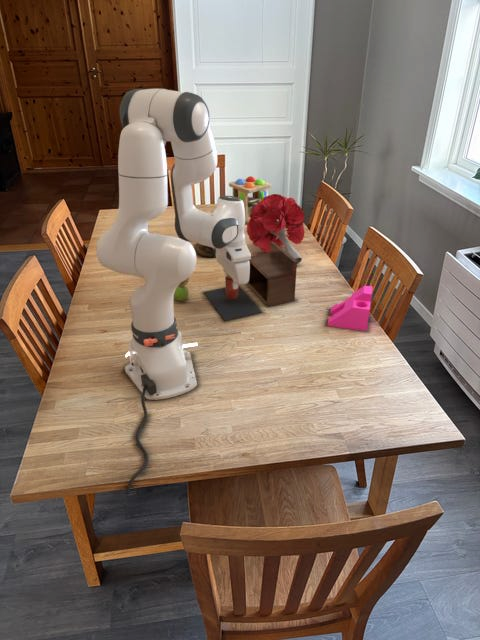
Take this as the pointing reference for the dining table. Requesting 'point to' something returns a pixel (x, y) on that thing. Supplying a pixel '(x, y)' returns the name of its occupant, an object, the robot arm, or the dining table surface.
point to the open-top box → (273, 276)
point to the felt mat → (232, 304)
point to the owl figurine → (205, 248)
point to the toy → (230, 288)
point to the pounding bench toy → (250, 186)
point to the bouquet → (277, 224)
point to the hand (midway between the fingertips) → (231, 284)
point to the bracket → (353, 310)
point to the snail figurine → (181, 291)
